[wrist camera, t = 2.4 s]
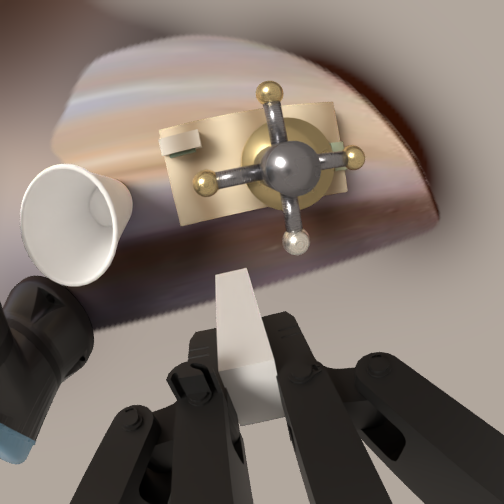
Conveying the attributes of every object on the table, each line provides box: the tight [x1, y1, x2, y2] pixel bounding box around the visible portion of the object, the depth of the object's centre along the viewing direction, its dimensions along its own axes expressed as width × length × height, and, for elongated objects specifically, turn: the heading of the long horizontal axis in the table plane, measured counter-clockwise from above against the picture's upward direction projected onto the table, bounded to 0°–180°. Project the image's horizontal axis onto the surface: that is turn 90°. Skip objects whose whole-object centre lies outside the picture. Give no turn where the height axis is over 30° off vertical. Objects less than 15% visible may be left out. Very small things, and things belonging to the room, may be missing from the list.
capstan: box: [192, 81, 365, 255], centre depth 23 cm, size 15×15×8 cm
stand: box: [159, 102, 347, 226], centre depth 26 cm, size 18×10×5 cm, turn 101°
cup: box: [20, 164, 133, 286], centre depth 23 cm, size 10×10×11 cm
